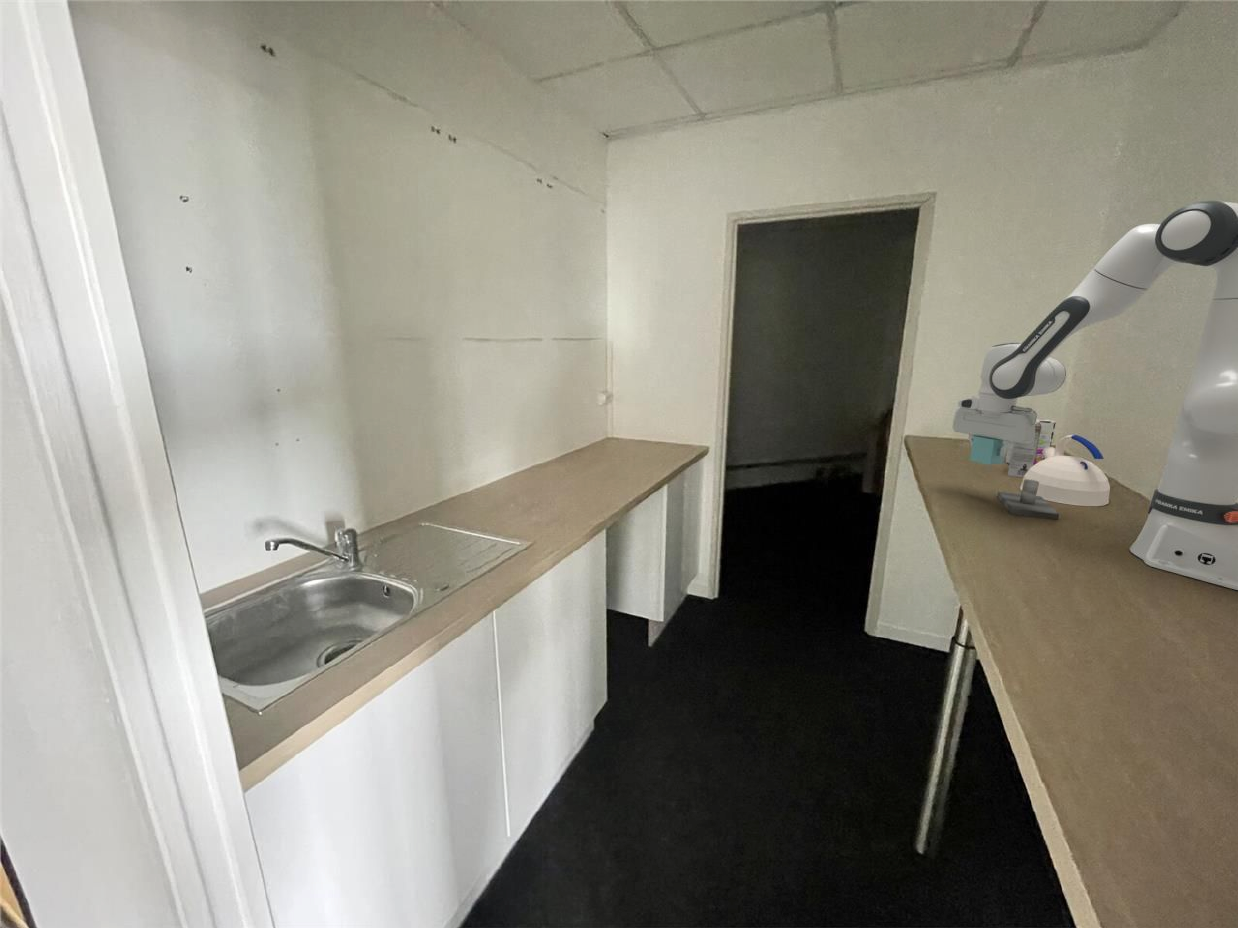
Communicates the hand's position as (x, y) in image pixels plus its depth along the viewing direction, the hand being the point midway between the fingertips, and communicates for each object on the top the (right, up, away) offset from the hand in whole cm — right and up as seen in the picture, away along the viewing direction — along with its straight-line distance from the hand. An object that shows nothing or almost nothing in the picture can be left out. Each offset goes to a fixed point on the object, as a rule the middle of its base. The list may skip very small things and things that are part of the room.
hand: (987, 453), depth 146 cm
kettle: (+27, -12, +8) cm, 31 cm away
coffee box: (+31, -7, +29) cm, 43 cm away
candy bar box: (+42, -4, +41) cm, 59 cm away
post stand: (+8, -15, -3) cm, 17 cm away
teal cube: (0, -2, +1) cm, 2 cm away
